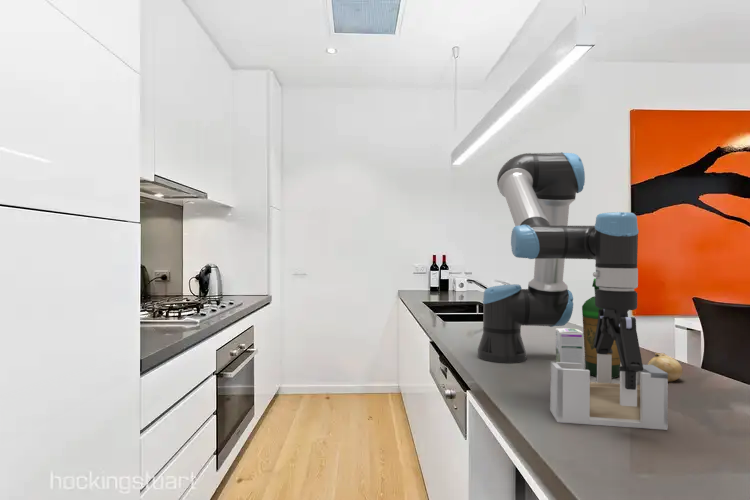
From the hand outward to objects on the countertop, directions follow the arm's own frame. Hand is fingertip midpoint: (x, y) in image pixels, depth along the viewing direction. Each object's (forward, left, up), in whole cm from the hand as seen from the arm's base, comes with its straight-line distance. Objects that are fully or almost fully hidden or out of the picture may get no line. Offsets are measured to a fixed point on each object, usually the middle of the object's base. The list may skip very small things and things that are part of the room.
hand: (615, 394), depth 91 cm
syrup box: (-22, -3, -6) cm, 23 cm away
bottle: (-37, +9, -5) cm, 38 cm away
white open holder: (0, -2, -5) cm, 6 cm away
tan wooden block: (0, 0, -4) cm, 4 cm away
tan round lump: (-35, +24, -6) cm, 43 cm away
